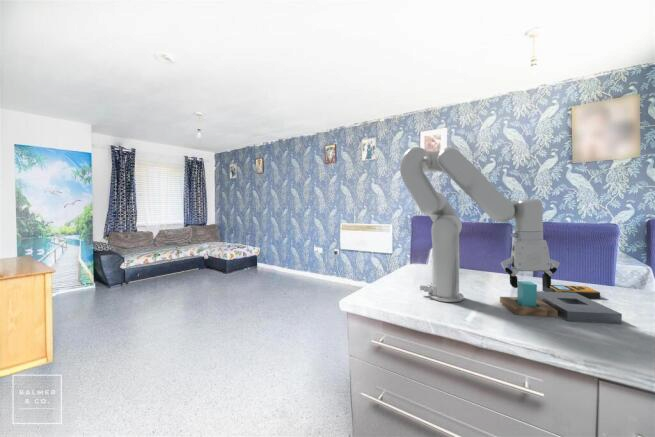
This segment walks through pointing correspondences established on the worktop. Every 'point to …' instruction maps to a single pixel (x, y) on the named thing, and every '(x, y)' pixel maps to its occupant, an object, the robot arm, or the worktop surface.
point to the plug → (527, 293)
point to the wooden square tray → (528, 308)
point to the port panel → (579, 308)
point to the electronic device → (574, 290)
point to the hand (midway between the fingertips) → (530, 287)
